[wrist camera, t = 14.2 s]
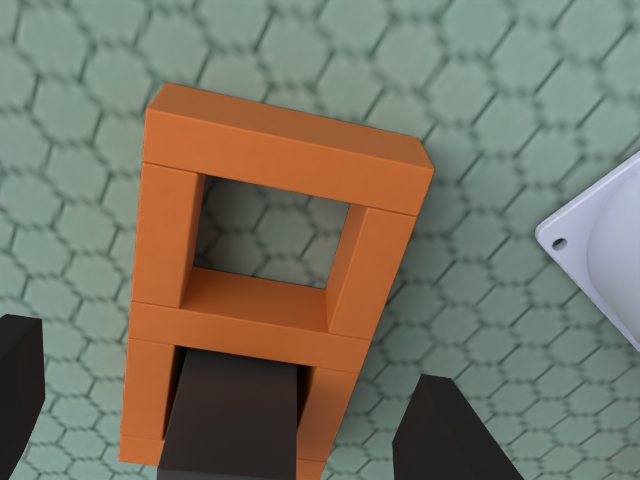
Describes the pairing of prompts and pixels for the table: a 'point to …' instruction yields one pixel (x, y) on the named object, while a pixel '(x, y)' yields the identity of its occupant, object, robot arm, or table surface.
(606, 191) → the robot arm
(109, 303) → the table surface
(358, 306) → the orange two-hole brick
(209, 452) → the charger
